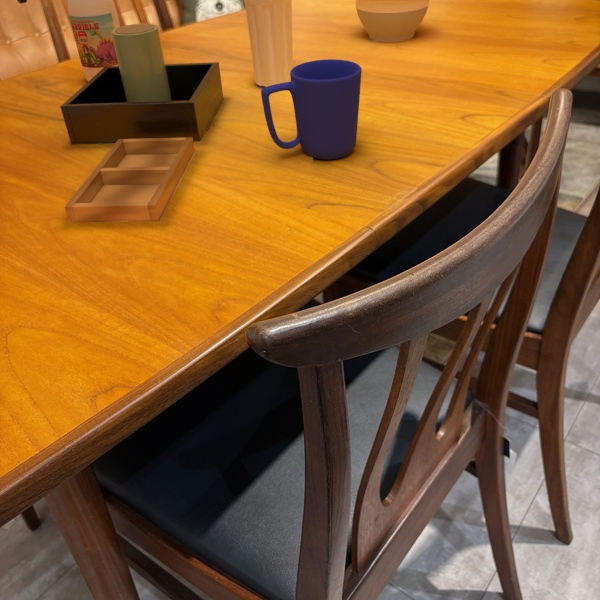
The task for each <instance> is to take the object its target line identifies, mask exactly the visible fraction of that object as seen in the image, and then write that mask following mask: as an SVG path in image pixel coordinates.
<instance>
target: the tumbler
mask: <svg viewBox="0 0 600 600" xmlns="http://www.w3.org/2000/svg"><path fill="white" fill-rule="evenodd" d="M111 35H112V39H113V44H114V48H115V52H116V57H117V61H118V66H119V70H120V75H121V79H122V83H123V88H124V92H125V97H126V101H127V102H158V101H172V98H171V93H170V87H169V82H168V76H167V71H166V65H165V64H166V60H165V55H164V50H163V44H162V38H161V33H160V27H159V25H157V24H155V23H133V24H126V25H122V26H120V27H118V28H116V29H113V30H112V31H111Z"/></svg>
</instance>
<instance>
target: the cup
mask: <svg viewBox="0 0 600 600" xmlns="http://www.w3.org/2000/svg"><path fill="white" fill-rule="evenodd" d="M292 1H293V0H243V2H244V7H245V15H246V23H247V28H248V29H247V30H248V37H249V43H250V51H251V57H252V65H253V72H254V81H255V84H256V85H258V86H259V87H264V88H265V87H268V86H271V85H275V84H280V83H286V82H291V77H290V72H291V70H292V69H293V68H294V49H293V46H294V45H293V12H292V11H293V8H292V7H293V4H292Z"/></svg>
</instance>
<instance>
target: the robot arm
mask: <svg viewBox="0 0 600 600" xmlns="http://www.w3.org/2000/svg"><path fill="white" fill-rule="evenodd" d="M16 1H17V2H18V3H19V4H26V3H27V2H28V0H16Z"/></svg>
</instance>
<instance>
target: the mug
mask: <svg viewBox="0 0 600 600" xmlns="http://www.w3.org/2000/svg"><path fill="white" fill-rule="evenodd" d="M362 71H363V70H362V67H361V66H360V64H358V63H357V62H354V61H350V60H345V59H337V58H336V59H331V58H329V59H318V60H317V59H316V60H311V61H306V62H302V63H299V64H297V65H295V66H293V69H292V70H291V72H290V77H291V82H286V83H280V84H275V85H271V86H268V87H265V86H264V87H262V88H261V89H260V96H261V102H262V109H263V113H264V117H265V122H266V126H267V130H268V133H269V135H270V137H271V140H272V141H273V142H274V144H275V145H276V146H277V147H279V148H280V149H283V150H291V149H293V148H296V147H297V146H298V145H299V144H300V147H301V150H302V151H303V153H304V154H305V155H307V156H308V157H312V158H313V159H317V160H336V159H340V158H343V157H346V156H348V155H350V154H351V152H353V151H354V149H355V146H356V144H357V137H358V123H359V111H360V110H359V109H360V97H361V84H362ZM283 91H289V93H290V95H291V99H292V104H293V105H292V106H293V110H294V116H295V117H294V118H295V125H296V138H294V139H293V140H290V141H287V142H286V141H282V140H281V138H280V137H279V135H278V134H277V130H276V127H275V124H274V119H273V115H272V109H271V103H270V102H271V101H270V96H271V95H272V94H275V93H278V92H283Z"/></svg>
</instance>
